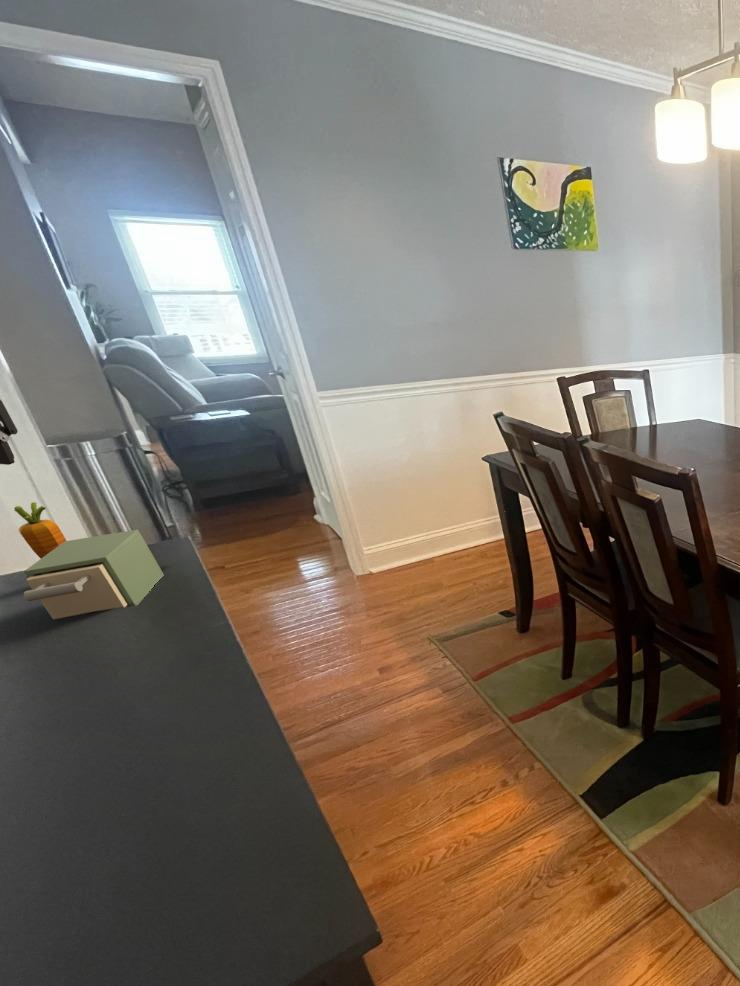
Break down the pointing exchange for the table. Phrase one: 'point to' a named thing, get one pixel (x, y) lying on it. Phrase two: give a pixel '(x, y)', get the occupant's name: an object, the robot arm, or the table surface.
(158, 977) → the table surface
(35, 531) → the carrot
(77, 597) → the drawer
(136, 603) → the cabinet
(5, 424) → the robot arm
